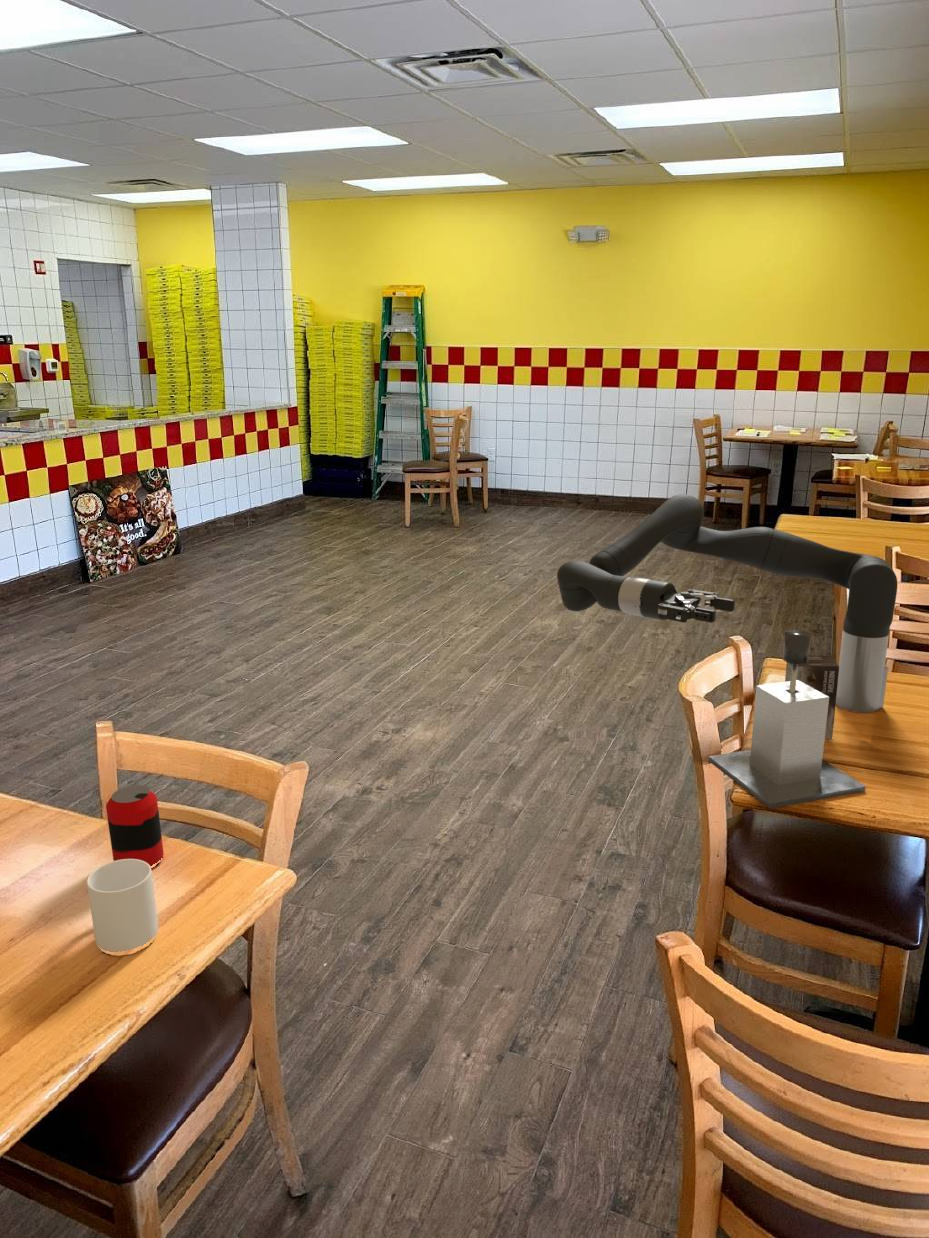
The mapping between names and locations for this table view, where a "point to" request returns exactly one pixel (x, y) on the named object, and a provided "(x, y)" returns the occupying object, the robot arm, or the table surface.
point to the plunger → (796, 652)
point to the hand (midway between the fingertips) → (724, 611)
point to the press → (787, 750)
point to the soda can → (135, 825)
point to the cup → (122, 904)
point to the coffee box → (820, 682)
